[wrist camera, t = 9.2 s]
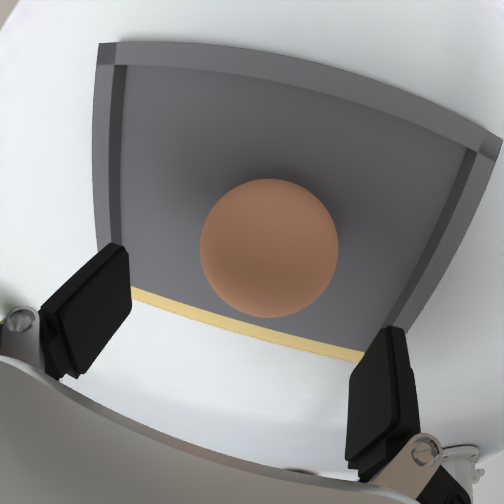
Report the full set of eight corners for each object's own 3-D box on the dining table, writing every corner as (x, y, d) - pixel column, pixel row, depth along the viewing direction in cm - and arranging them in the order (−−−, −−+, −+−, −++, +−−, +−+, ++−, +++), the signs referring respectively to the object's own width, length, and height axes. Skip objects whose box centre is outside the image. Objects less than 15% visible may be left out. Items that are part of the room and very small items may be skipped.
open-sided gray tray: (500, 140, 12) (517, 148, 10) (380, 364, 21) (382, 383, 20) (105, 44, 13) (84, 44, 12) (106, 286, 23) (95, 300, 21)
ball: (337, 174, 15) (379, 236, 10) (306, 270, 18) (323, 351, 13) (216, 151, 14) (196, 205, 9) (202, 254, 18) (185, 336, 13)
